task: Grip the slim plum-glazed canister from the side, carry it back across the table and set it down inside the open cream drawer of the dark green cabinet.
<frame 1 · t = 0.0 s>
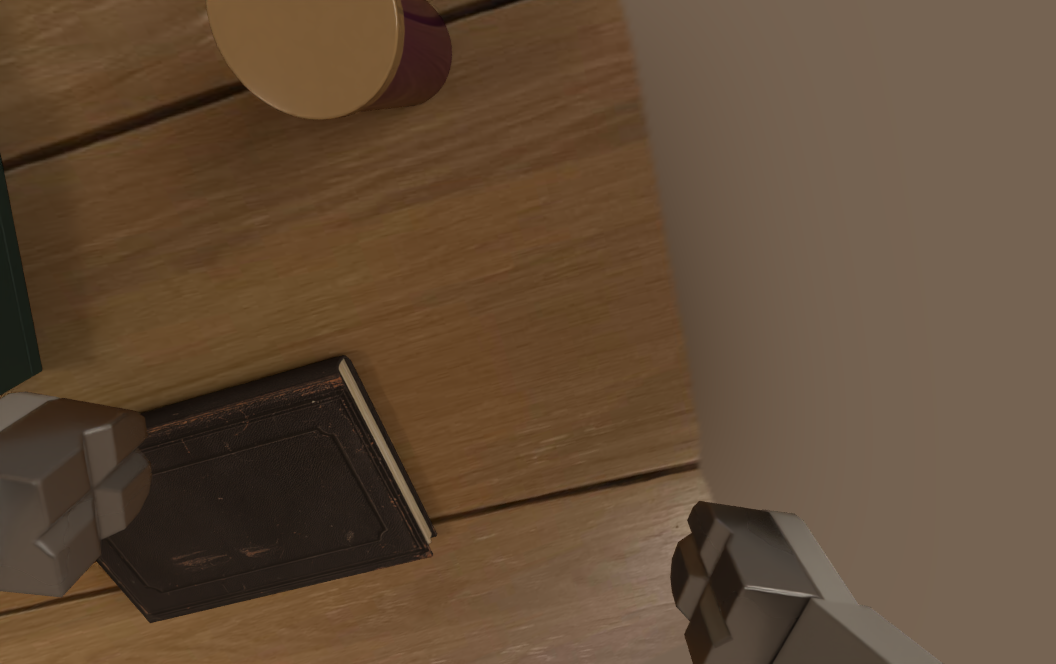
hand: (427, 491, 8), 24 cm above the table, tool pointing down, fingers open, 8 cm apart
hardcover book: (248, 486, 38), on the table
canister: (400, 50, 27), on the table
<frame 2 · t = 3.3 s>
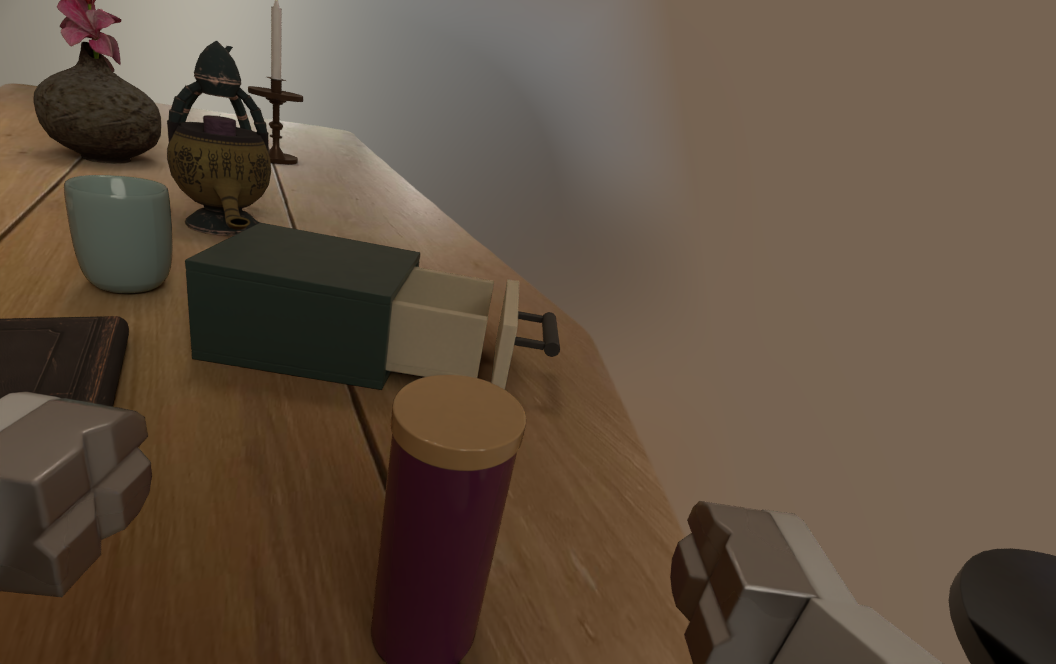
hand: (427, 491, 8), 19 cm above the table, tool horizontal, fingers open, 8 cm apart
teapot: (227, 234, 72), on the table
candlestick: (275, 160, 122), on the table
vase: (105, 158, 95), on the table
canister: (424, 624, 27), on the table
cup: (130, 288, 53), on the table
cabinet: (315, 342, 50), on the table
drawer: (457, 325, 50), point 4 cm above the table, slide at 9.0 cm
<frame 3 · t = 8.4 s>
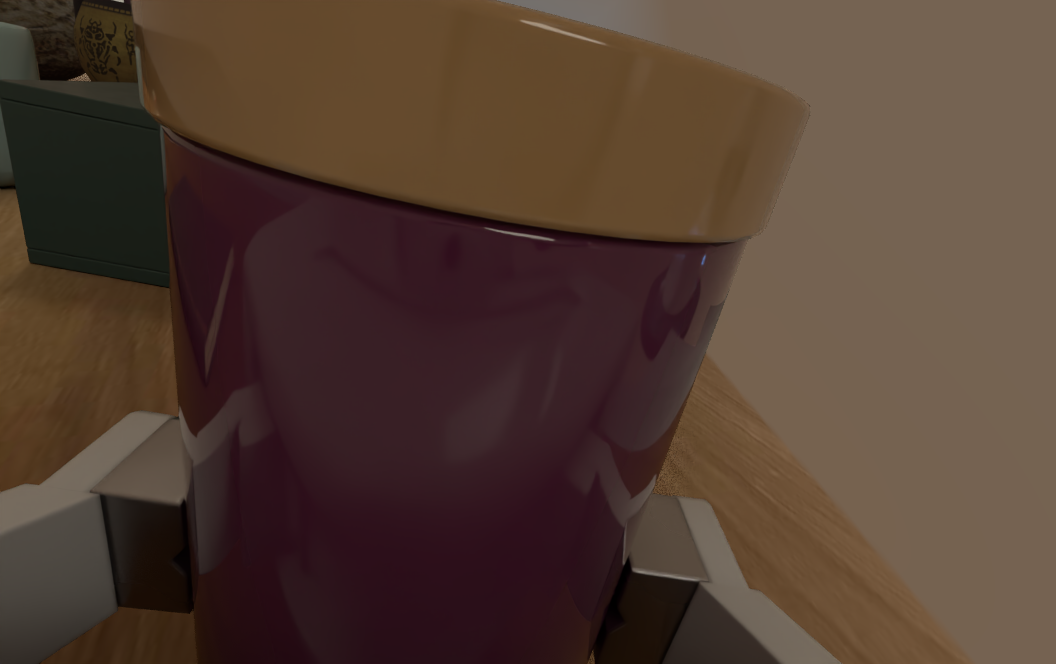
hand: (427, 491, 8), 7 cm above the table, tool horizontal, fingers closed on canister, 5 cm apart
teapot: (159, 150, 55), on the table
vase: (31, 82, 78), on the table
cabinet: (246, 257, 33), on the table
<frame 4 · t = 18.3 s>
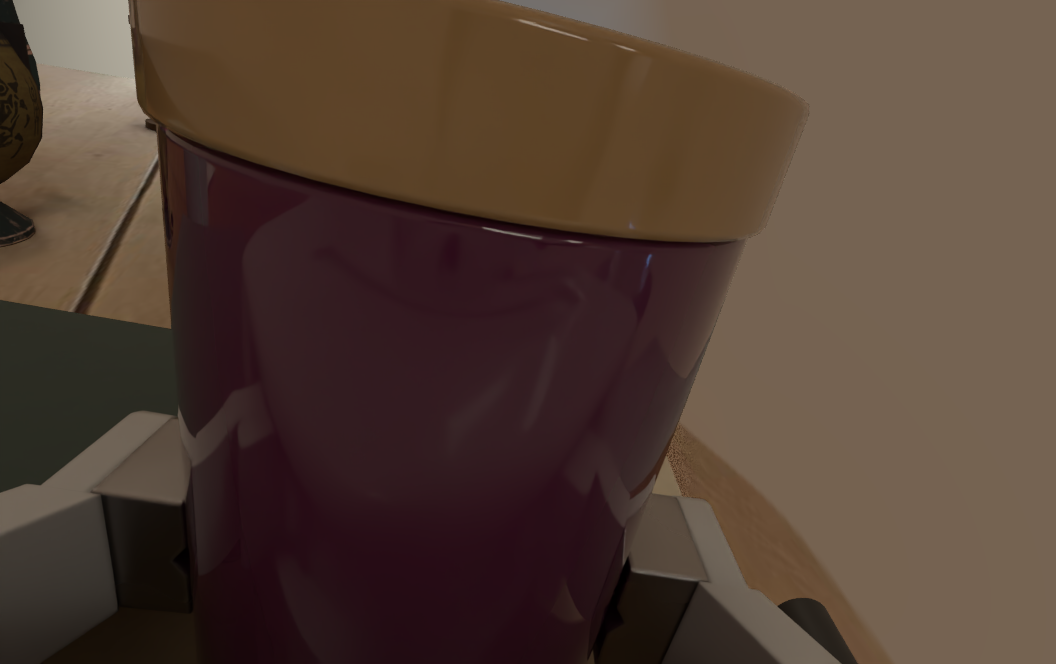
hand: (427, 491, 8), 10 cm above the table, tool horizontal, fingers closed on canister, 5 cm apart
when the fingers open (13 cm above the table, at t = 37.0 s): canister drops 3 cm, resting on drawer.
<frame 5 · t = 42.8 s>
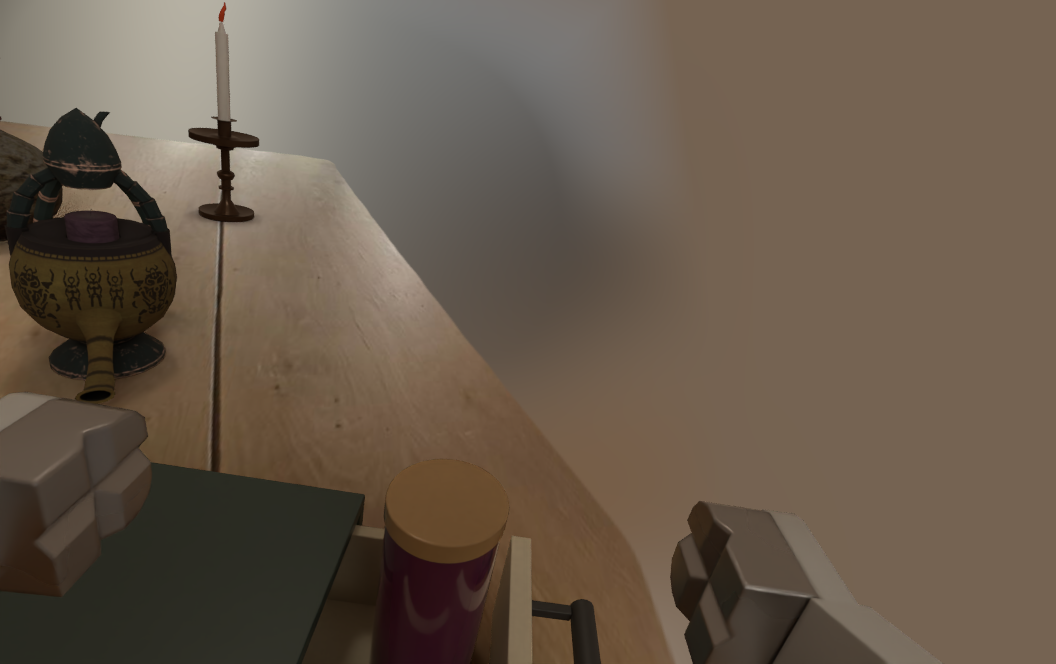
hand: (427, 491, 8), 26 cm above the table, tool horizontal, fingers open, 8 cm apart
teapot: (109, 376, 50), on the table
candlestick: (227, 215, 100), on the table
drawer: (422, 655, 28), point 4 cm above the table, slide at 8.9 cm, touching canister
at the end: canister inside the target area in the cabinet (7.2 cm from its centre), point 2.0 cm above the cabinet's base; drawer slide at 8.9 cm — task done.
